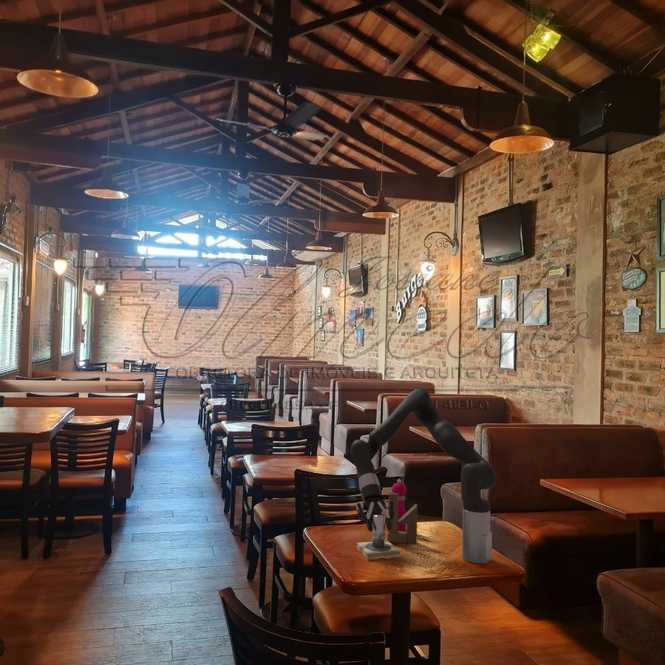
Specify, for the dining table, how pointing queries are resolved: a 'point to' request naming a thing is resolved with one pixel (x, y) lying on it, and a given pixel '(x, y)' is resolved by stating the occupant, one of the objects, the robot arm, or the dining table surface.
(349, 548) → the dining table surface
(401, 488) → the pepper mill
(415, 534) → the wooden block
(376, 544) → the axle
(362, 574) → the dining table surface
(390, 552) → the rest block
